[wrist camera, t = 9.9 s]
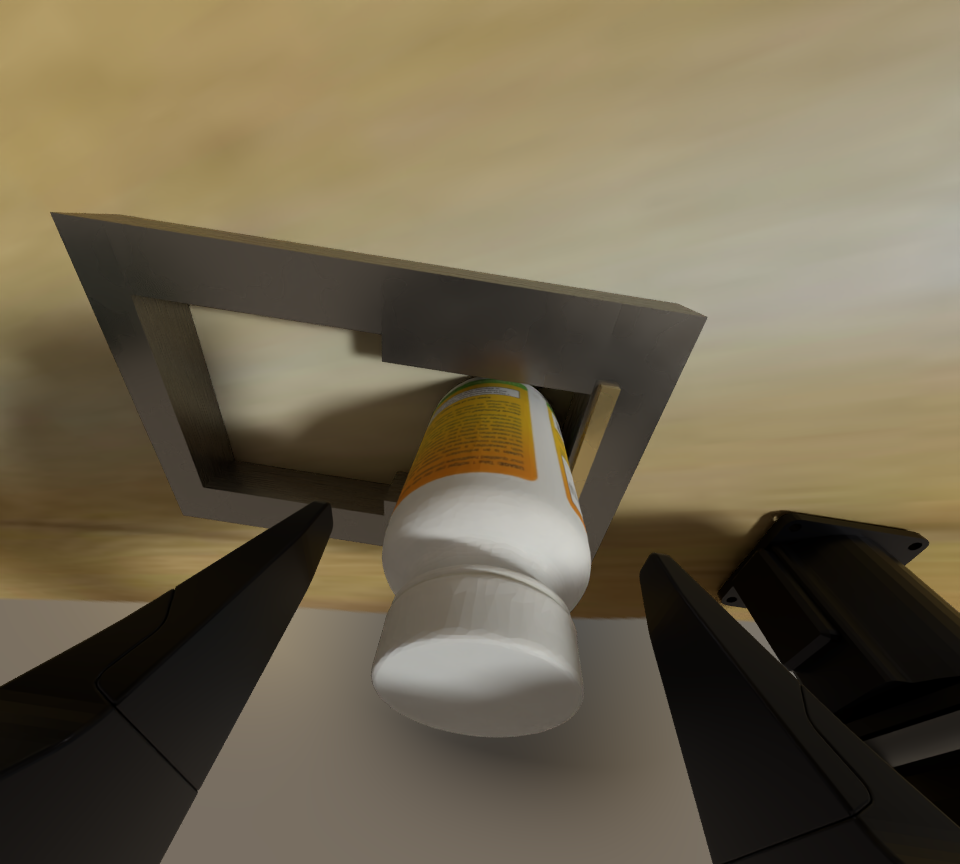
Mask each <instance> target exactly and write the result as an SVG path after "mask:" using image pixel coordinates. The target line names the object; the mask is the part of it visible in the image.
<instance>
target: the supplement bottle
mask: <svg viewBox="0 0 960 864" xmlns="http://www.w3.org/2000/svg"><path fill="white" fill-rule="evenodd" d="M382 562H383V568H384V572H385V575H386V578H387V581H388V583H389V586H390V588H391V590H392V591H393V593H394V594H395V598H394V600H393V602H392V605H391V607H390V609H389V611H388V613H387V616H386V619H385V623H384V627H383V630H382V634H381V637H380V641H379V644H378V648H377V651H376V655H375V658H374V662H373V666H372V675H371V677H372V683H373V686H374V689H375V690H376V692H377V694H378V696H379V697H380V698H381V699H382V700H383V701H384V702H385V703H387V704H388V705H389V706H390V707H391V708H392V709H394V710H395V711H397V712H398V713H400V714H402V715H404V716H406V717H408V718H410V719H411V720H414V721H416V722H418V723H421V724H423V725H426V726H429V727H433V728H436V729H440V730H444V731H448V732H453V733H458V734H464V735H471V736H481V737H513V736H522V735H528V734H534V733H540V732H543V731H547V730H550V729H552V728H555V727H556V726H559V725H561V724H563V723H564V722H566V721H568V720H569V719H570V718H571V717H572V716H573V715H574V714H575V713H576V712H577V711H578V709H579V707H580V706H581V703H582V701H583V692H584V689H583V680H582V672H581V665H580V658H579V651H578V641H577V632H576V629H575V625H574V623H573V621H572V619H571V615H570V612H571V611H572V610H573V609H574V607H575V606H576V605H577V604H578V602H579V601H580V599H581V598H582V596H583V594H584V592H585V590H586V588H587V586H588V582H589V578H590V572H591V555H590V548H589V543H588V537H587V532H586V528H585V524H584V521H583V517H582V513H581V509H580V505H579V502H578V498H577V494H576V490H575V486H574V482H573V478H572V474H571V470H570V466H569V462H568V458H567V454H566V450H565V446H564V442H563V438H562V434H561V430H560V426H559V423H558V420H557V417H556V415H555V412H554V410H553V408H552V406H551V405H550V403H549V402H548V400H547V399H546V398H545V397H544V396H543V395H542V394H541V393H540V392H539V391H538V390H536V389H535V388H534V387H532V386H531V385H528V384H521V383H515V382H509V381H502V380H496V379H490V378H483V377H476V378H472V379H469V380H466V381H464V382H462V383H460V384H459V385H457V386H456V387H454V388H453V389H451V390H450V391H449V392H448V393H447V394H446V395H445V396H444V397H443V398H442V399H441V401H440V402H439V404H438V405H437V407H436V409H435V411H434V413H433V415H432V417H431V420H430V422H429V424H428V427H427V430H426V432H425V435H424V437H423V440H422V442H421V445H420V447H419V449H418V452H417V455H416V457H415V459H414V462H413V464H412V467H411V469H410V472H409V474H408V477H407V479H406V482H405V484H404V486H403V489H402V491H401V494H400V496H399V499H398V501H397V503H396V506H395V508H394V511H393V513H392V515H391V518H390V521H389V524H388V527H387V530H386V534H385V537H384V543H383V552H382Z"/></svg>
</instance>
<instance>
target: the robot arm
mask: <svg viewBox="0 0 960 864" xmlns="http://www.w3.org/2000/svg"><path fill="white" fill-rule="evenodd" d="M332 529H333V516H332V507H331V504H330V503H329V502H325V501H318V500H316V501H313V502H311V503H309V504H308V505H306V506H304V507H303V508H301V509H300V510H298V511H296V512H295V513H293V514H292V515H290V516H288V517H287V518H285V519H284V520H282V521H280V522H279V523H277V524H276V525H274V526H272V527H271V528H269V529H268V530H266V531H264V532H263V533H261V534H260V535H258V536H256V537H255V538H253V539H252V540H250V541H248V542H247V543H245V544H244V545H242V546H240V547H239V548H237V549H235V550H234V551H232V552H231V553H229V554H227V555H226V556H224V557H223V558H221V559H219V560H218V561H216V562H215V563H213V564H211V565H210V566H208V567H207V568H205V569H203V570H202V571H200V572H199V573H197V574H195V575H194V576H192V577H191V578H189V579H187V580H186V581H184V582H183V583H181V584H179V585H178V586H176V588H175V589H171V590H169V591H168V592H166V593H165V594H163V595H161V596H160V597H158V598H157V599H155V600H153V601H152V602H150V603H148V604H147V605H145V606H143V607H142V608H140V609H138V610H137V611H135V612H133V613H132V614H130V615H128V616H127V617H125V618H124V619H122V620H120V621H118V622H116V623H115V624H113V625H111V626H109V627H108V628H106V629H104V630H102V631H100V632H99V633H97V634H95V635H93V636H92V637H90V638H88V639H87V640H84V641H83V642H81V643H79V644H77V645H75V646H73V647H72V648H70V649H68V650H66V651H64V652H63V653H61V654H59V655H57V656H55V657H53V658H52V659H50V660H48V661H46V662H44V663H42V664H40V665H39V666H37V667H35V668H33V669H31V670H30V671H28V672H26V673H24V674H22V675H20V676H18V677H17V678H15V679H13V680H11V681H9V682H7V683H6V684H4V685H2V686H0V864H160V862H161V860H162V858H163V856H164V855H165V853H166V851H167V849H168V847H169V845H170V844H171V842H172V840H173V838H174V836H175V834H176V832H177V831H178V829H179V827H180V825H181V823H182V821H183V819H184V817H185V816H186V814H187V812H188V810H189V808H190V807H191V805H192V803H193V801H194V799H195V797H196V795H197V793H198V791H197V790H199V789H200V787H201V786H202V784H203V782H204V780H205V778H206V776H207V774H208V773H209V771H210V769H211V767H212V765H213V763H214V762H215V759H216V758H217V756H218V754H219V752H220V750H221V749H222V747H223V745H224V743H225V741H226V739H227V738H228V736H229V734H230V732H231V730H232V728H233V726H234V725H235V723H236V721H237V719H238V717H239V715H240V713H241V712H242V710H243V708H244V706H245V704H246V702H247V700H248V699H249V697H250V695H251V693H252V691H253V689H254V687H255V686H256V684H257V682H258V680H259V678H260V676H261V675H262V673H263V671H264V669H265V667H266V665H267V663H268V662H269V660H270V658H271V656H272V654H273V652H274V650H275V649H276V647H277V645H278V643H279V641H280V639H281V637H282V636H283V634H284V632H285V630H286V628H287V626H288V624H289V623H290V621H291V619H292V617H293V615H294V613H295V612H296V610H297V608H298V606H299V604H300V602H301V600H302V599H303V597H304V595H305V593H306V591H307V589H308V587H309V585H310V583H311V581H312V579H313V576H314V574H315V572H316V569H317V567H318V564H319V562H320V559H321V557H322V554H323V552H324V550H325V547H326V545H327V542H328V540H329V537H330V535H331V532H332ZM928 545H929V541H928V540H927V539H925V538H924V537H923V536H921V535H920V534H919V533H916V532H912V531H905V530H899V529H892V528H886V527H880V526H873V525H867V524H861V523H854V522H848V521H841V520H835V519H829V518H822V517H816V516H809V515H803V514H797V513H790V514H786V515H784V516H782V517H781V518H779V519H778V520H777V522H776V523H775V524H774V525H773V526H772V528H771V529H770V530H769V531H768V533H767V534H766V535H765V536H764V537H763V539H762V540H761V541H760V542H759V543H758V545H757V546H756V547H755V548H754V549H753V551H752V552H751V553H750V554H749V555H748V557H747V558H746V559H745V560H744V561H743V563H742V564H741V565H740V566H739V567H738V569H737V570H736V571H735V572H734V574H733V575H732V576H731V577H730V578H729V580H728V581H727V582H726V583H725V584H724V586H723V587H722V588H721V589H720V590H719V592H718V597H719V598H720V600H721V602H722V603H723V604H725V605H729V606H735V607H742V608H747V609H748V611H749V612H750V614H751V616H752V617H753V619H754V620H755V622H756V624H757V625H758V627H759V628H760V630H761V632H762V633H763V635H764V636H765V638H766V640H767V641H768V643H769V644H770V646H771V648H772V649H773V651H774V652H775V654H776V656H777V657H778V659H779V660H780V662H781V663H780V662H779V661H777V659H776V658H774V656H772V655H771V654H770V653H769V652H768V651H767V650H766V649H765V648H764V647H763V646H762V645H761V644H760V643H759V642H758V641H757V640H756V639H755V638H754V637H753V636H752V635H751V634H750V633H749V632H748V631H747V630H745V628H743V627H742V626H741V625H740V624H739V623H738V622H737V621H736V620H735V619H734V618H733V617H732V616H731V615H730V614H729V613H728V612H727V611H726V610H725V609H724V608H723V607H722V606H721V605H720V604H719V603H718V602H717V601H716V600H715V599H714V598H712V597H711V596H710V595H709V594H708V593H707V592H706V591H705V590H704V589H703V588H702V587H701V586H700V585H699V584H698V583H697V582H696V581H695V580H694V579H693V578H692V577H691V576H690V575H689V574H688V573H687V572H686V571H685V570H684V569H682V568H681V567H680V566H679V565H678V564H677V563H676V562H675V561H674V560H673V559H672V558H671V557H670V556H669V555H666V554H661V553H652V554H650V555H649V557H648V559H647V560H646V562H645V564H644V565H643V567H642V569H641V571H640V584H641V590H642V596H643V602H644V607H645V613H646V619H647V625H648V630H649V635H650V639H651V643H652V646H653V650H654V654H655V657H656V661H657V664H658V668H659V672H660V675H661V679H662V682H663V686H664V690H665V693H666V697H667V700H668V704H669V708H670V711H671V715H672V718H673V722H674V726H675V729H676V733H677V736H678V740H679V744H680V747H681V751H682V754H683V758H684V762H685V765H686V769H687V773H688V776H689V780H690V783H691V787H692V790H693V794H694V798H695V801H696V805H697V808H698V812H699V816H700V819H701V823H702V826H703V830H704V834H705V837H706V841H707V845H708V848H709V852H710V855H711V859H712V863H713V864H960V613H959V612H958V611H957V610H956V609H955V608H953V607H952V606H951V605H950V604H949V603H947V602H946V601H945V600H944V599H943V598H942V597H940V596H939V595H938V594H937V593H936V592H935V591H933V590H932V589H931V588H930V587H929V586H928V585H926V584H925V583H924V582H923V581H922V580H921V579H919V578H918V577H917V576H916V575H915V574H914V573H912V572H911V571H910V570H909V569H908V568H907V567H905V565H906V564H907V563H909V562H910V561H911V560H912V559H913V558H915V557H916V556H917V555H918V554H919V553H921V552H922V551H923V550H924V549H926V548H927V546H928ZM789 671H791V672H793V673H794V674H795V676H796V678H797V679H798V680H797V679H796V678H795V677H794V676H793V675H792V674H791V673H790V672H789Z"/></svg>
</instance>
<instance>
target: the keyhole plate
mask: <svg viewBox="0 0 960 864" xmlns="http://www.w3.org/2000/svg"><path fill="white" fill-rule="evenodd" d="M50 213H51V216H52V218H53V220H54V222H55V225H56V227H57V229H58V231H59V234H60V236H61V238H62V241H63V243H64V245H65V247H66V250H67V252H68V254H69V256H70V259H71V261H72V263H73V266H74V268H75V270H76V272H77V275H78V277H79V279H80V281H81V284H82V286H83V288H84V291H85V293H86V295H87V297H88V300H89V302H90V304H91V306H92V309H93V311H94V313H95V316H96V318H97V320H98V322H99V325H100V327H101V329H102V331H103V334H104V336H105V338H106V341H107V343H108V345H109V347H110V350H111V352H112V354H113V356H114V359H115V361H116V363H117V366H118V368H119V370H120V372H121V375H122V377H123V379H124V381H125V384H126V386H127V388H128V391H129V393H130V395H131V397H132V400H133V402H134V404H135V406H136V409H137V411H138V413H139V416H140V418H141V420H142V422H143V425H144V427H145V429H146V431H147V434H148V436H149V438H150V441H151V443H152V445H153V447H154V450H155V452H156V454H157V456H158V459H159V461H160V463H161V466H162V468H163V470H164V472H165V475H166V477H167V479H168V481H169V484H170V486H171V488H172V491H173V493H174V495H175V497H176V500H177V502H178V504H179V506H180V509H181V511H182V513H183V515H185V516H192V517H198V518H205V519H211V520H218V521H224V522H231V523H237V524H243V525H250V526H256V527H263V528H271V527H272V526H274V525H276V524H277V523H279V522H280V521H282V520H284V519H285V518H287V517H288V516H290V515H292V514H293V513H295V512H296V511H298V510H300V509H301V508H303V507H304V506H306V505H308V504H309V503H311V502H313V501H316V500H318V501H325V502H329V503H330V504H331V507H332V516H333V529H332V532H331V535H330V537H329V538H334V539H340V540H347V541H353V542H360V543H366V544H373V545H379V546H383V543H384V537H385V534H386V530H387V527H388V524H389V521H390V518H391V515H392V513H393V511H394V508H395V506H396V503H397V501H398V499H399V496H400V494H401V491H402V489H403V486H404V484H405V482H406V479H407V477H408V474H409V473H402V472H397V474H396V476H395V478H394V480H393V482H392V484H391V485H387V484H380V483H374V482H367V481H361V480H355V479H348V478H342V477H335V476H329V475H322V474H316V473H310V472H303V471H297V470H290V469H284V468H278V467H271V466H265V465H258V464H252V463H245V462H239V461H235V460H234V457H233V453H232V450H231V447H230V443H229V440H228V437H227V433H226V430H225V427H224V423H223V420H222V416H221V413H220V410H219V406H218V403H217V400H216V396H215V393H214V390H213V386H212V383H211V379H210V376H209V373H208V369H207V366H206V363H205V359H204V356H203V352H202V349H201V346H200V342H199V339H198V336H197V332H196V329H195V326H194V322H193V319H192V315H191V312H190V309H189V305H188V304H193V305H199V306H205V307H212V308H218V309H224V310H231V311H237V312H243V313H250V314H256V315H262V316H268V317H275V318H281V319H287V320H294V321H300V322H306V323H313V324H319V325H325V326H332V327H338V328H344V329H351V330H357V331H363V332H369V333H376V334H382V362H388V363H395V364H401V365H407V366H414V367H420V368H426V369H433V370H439V371H445V372H452V373H458V374H464V375H471V376H477V377H483V378H490V379H496V380H502V381H509V382H515V383H521V384H528V385H534V386H540V387H547V388H553V389H559V390H566V391H572V392H574V395H573V398H572V402H571V405H570V408H569V411H568V415H567V418H566V421H565V424H564V428H563V431H562V438H563V442H564V446H565V450H566V454H567V458H568V462H569V466H570V470H571V474H572V478H573V482H574V486H575V490H576V494H577V498H578V502H579V505H580V509H581V513H582V517H583V521H584V524H585V528H586V532H587V537H588V543H589V548H590V555H591V563H592V561H593V558H594V556H595V554H596V552H597V550H598V548H599V546H600V544H601V542H602V539H603V537H604V535H605V533H606V531H607V529H608V527H609V525H610V523H611V520H612V518H613V516H614V514H615V512H616V510H617V508H618V506H619V503H620V501H621V499H622V497H623V495H624V493H625V491H626V489H627V487H628V484H629V482H630V480H631V478H632V476H633V474H634V472H635V470H636V468H637V465H638V463H639V461H640V459H641V457H642V455H643V453H644V451H645V449H646V446H647V444H648V442H649V440H650V438H651V436H652V434H653V432H654V429H655V427H656V425H657V423H658V421H659V419H660V417H661V415H662V413H663V410H664V408H665V406H666V404H667V402H668V400H669V398H670V396H671V394H672V391H673V389H674V387H675V385H676V383H677V381H678V379H679V377H680V374H681V372H682V370H683V368H684V366H685V364H686V362H687V360H688V358H689V355H690V353H691V351H692V349H693V347H694V345H695V343H696V341H697V339H698V336H699V334H700V332H701V330H702V328H703V326H704V324H705V322H706V320H707V317H706V316H704V315H702V314H700V313H697V312H695V311H693V310H691V309H688V308H686V307H684V306H682V305H680V304H676V303H670V302H663V301H657V300H651V299H644V298H638V297H632V296H626V295H619V294H613V293H607V292H601V291H594V290H588V289H582V288H576V287H569V286H563V285H557V284H551V283H544V282H538V281H532V280H526V279H519V278H513V277H507V276H500V275H494V274H488V273H482V272H475V271H469V270H463V269H457V268H450V267H444V266H438V265H432V264H425V263H419V262H413V261H407V260H400V259H394V258H388V257H382V256H375V255H369V254H363V253H356V252H350V251H344V250H338V249H331V248H325V247H319V246H313V245H306V244H300V243H294V242H288V241H281V240H275V239H269V238H263V237H256V236H250V235H244V234H238V233H231V232H225V231H219V230H213V229H206V228H200V227H194V226H187V225H181V224H175V223H169V222H162V221H156V220H150V219H144V218H137V217H131V216H125V215H117V214H88V213H59V212H50Z"/></svg>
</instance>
